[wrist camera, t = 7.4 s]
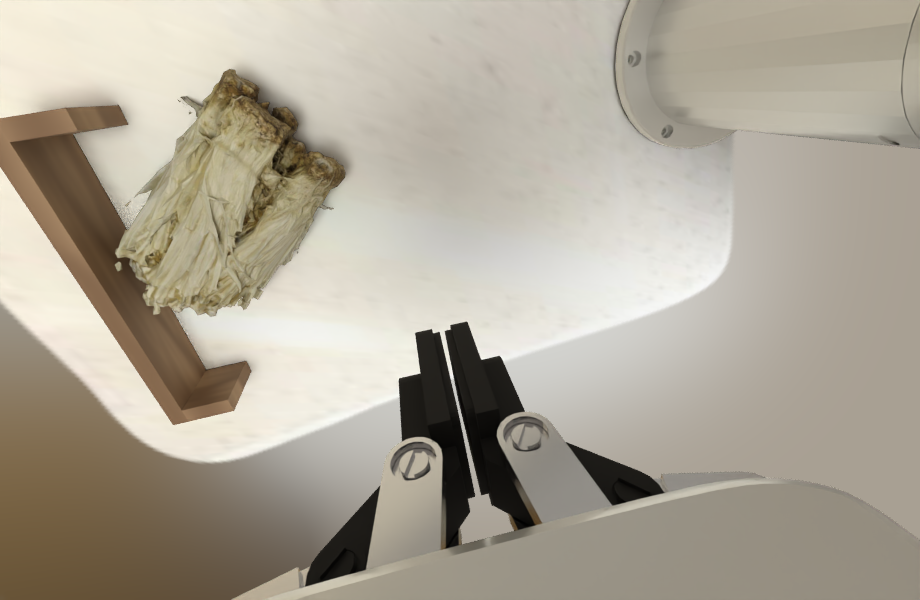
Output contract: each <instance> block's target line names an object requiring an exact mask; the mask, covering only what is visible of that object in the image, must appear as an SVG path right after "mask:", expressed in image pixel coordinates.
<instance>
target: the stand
mask: <svg viewBox="0 0 920 600" xmlns="http://www.w3.org/2000/svg"><path fill="white" fill-rule="evenodd" d="M123 125H128V123H127V121H126V119H125V117H124V115H123V113H122V111H121V109H120V107H119V105H117V106H97V107H77V108H62V109H56V110H50V111H44V112H37V113H31V114H25V115H19V116H12V117H6V118H0V167H1V169H2V170H3V172H4V173H5V175H6V176H7V178H8V179H9V181H10V182H11V184H12V185H13V187H14V188H15V190H16V191H17V193H18V194H19V196H20V197H21V199H22V200H23V202H24V203H25V204H26V206H27V207H28V209H29V210H30V212H31V213H32V215H33V216H34V218H35V219H36V221H37V222H38V224H39V225H40V227H41V228H42V230H43V231H44V233H45V234H46V236H47V237H48V239H49V240H50V242H51V243H52V245H53V246H54V248H55V249H56V251H57V252H58V254H59V255H60V257H61V258H62V260H63V261H64V263H65V264H66V266H67V267H68V269H69V270H70V272H71V273H72V275H73V276H74V278H75V279H76V281H77V282H78V284H79V285H80V287H81V288H82V290H83V291H84V293H85V294H86V296H87V297H88V299H89V300H90V302H91V303H92V304H93V306H94V307H95V309H96V310H97V312H98V313H99V315H100V316H101V318H102V319H103V321H104V322H105V324H106V325H107V327H108V328H109V330H110V331H111V333H112V334H113V336H114V337H115V339H116V340H117V342H118V343H119V345H120V346H121V348H122V349H123V351H124V352H125V354H126V355H127V357H128V358H129V360H130V361H131V363H132V364H133V366H134V367H135V369H136V370H137V372H138V373H139V375H140V376H141V378H142V379H143V381H144V382H145V384H146V385H147V387H148V388H149V390H150V391H151V393H152V394H153V396H154V397H155V399H156V400H157V402H158V403H159V405H160V406H161V407H162V409H163V410H164V412H165V413H166V415H167V416H168V418H169V419H170V421H171V422H172V424H173V425H176V424H180V423H184V422H189V421H193V420H197V419H201V418H206V417H210V416H214V415H218V414H222V413H227V412H231V411H234V410H235V407H236V405H237V403H238V400H239V398H240V396H241V394H242V391H243V389H244V387H245V384H246V382H247V380H248V378H249V375H250V373H251V370H250V368H249V366H248V364H247V362H246V361H245V362H240V363H236V364H231V365H227V366H222V367H218V368H214V369H209V370H206V369H205V367H204V366H203V364H202V362H201V360H200V359H199V357H198V355H197V353H196V352H195V350H194V348H193V346H192V344H191V343H190V341H189V339H188V337H187V336H186V334H185V332H184V330H183V329H182V327H181V325H180V323H179V322H178V320H177V318H176V316H175V314H174V313H173V311H172V309H171V307H170V306H165V307H160V310H161V312H160V313H159V314H155V315H153V308H154V306H147V305H146V302H145V300H144V299H143V298H142V297H143V293H144V291H147V290H148V289H147V290H145V289H146V285H148V284H146V283H144V282H142V280H141V281H140V280H139V279H137V278H136V274H135V273H134V272H133V270H132V267H131V266H130V265H129V263H130V258H127V257H122V258H117V256H116V254H115V251H116V249H118V248H119V245H120V242H121V239H122V237H123V235H124V233H125V230H126V228H125V226H124V224H123V223H122V221H121V219H120V217H119V215H118V214H117V212H116V210H115V208H114V207H113V205H112V203H111V201H110V200H109V198H108V196H107V194H106V192H105V191H104V189H103V187H102V185H101V184H100V182H99V180H98V178H97V177H96V175H95V173H94V171H93V170H92V168H91V166H90V164H89V162H88V161H87V159H86V157H85V155H84V154H83V152H82V150H81V148H80V147H79V145H78V143H77V141H76V139H75V138H74V136H73V134H74V133H80V132H86V131H93V130H99V129H105V128H111V127H117V126H123ZM118 262H120V263H121V265H122V270H120V271H117V269H116V267H115V264H116V263H118Z"/></svg>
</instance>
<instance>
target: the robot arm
mask: <svg viewBox="0 0 920 600" xmlns="http://www.w3.org/2000/svg"><path fill="white" fill-rule="evenodd" d="M629 57H630V61H629V63H628V58H629ZM615 70H616V81H617V89H618V93H619V96H620V100H621V104H622V106H623V108H624V110H625V112H626V114H627V116H628V118H629V120H630V121H631V122H632V124H633V125H634V126H635V127H636V129H637V130H638V131H639V132H640V133H641V134H643V135H644V136H645V137H647V138H648V139H649V140H651V141H654V142H656V143H658V144H661V145H663V146H669V147H674V148H690V149H692V148H697V147H702V146H707V145H710V144H712V143H715V142H717V141H720V140H722V139H724V138H725V137H727V136H729V135H730V134H732V133H734V132H735V131H737V130H741V131H751V132H761V133H771V134H780V135H790V136H800V137H809V138H819V139H829V140H840V141H848V142H858V143H868V144H878V145H888V146H897V147H908V148H918V149H920V0H630V2H629V5H628V8H627V10H626V13H625V16H624V18H623V21H622V24H621V29H620V33H619V38H618V42H617V50H616V64H615ZM450 326H451V330H447V331H445V335H446V340H447V345H448V350H449V355H450V360H451V365H452V370H453V376H454V381H455V386H456V390H457V396H458V401H459V405H460V409H461V413H462V417H463V422H464V425H465V430H466V434H467V438H468V442H469V446H470V450H471V455H472V459H473V463H474V467H475V471H476V475H477V479H478V483H479V487H480V492H481V495H484V494H488V493H489V497H490V500H491V504H492V506H493V505H494V506H495V507H497V508H499V509H501V510H502V511H504V512H506V513H508V516H509V520H510V523H511V525H512V527H513V529H514V531H513V532H509V533H505V534H501V535H497V536H493V537H489V538H485V539H482V540H478V541H474V542H470V543H466V544H463V545H462V535H461V529H460V526H461V524H462V523H463V522H464V520H465V519H466V517H467V516H468V514H469V513H470V508H469V503H468V498H472V497H475V493H474V488H473V483H472V478H471V473H470V468H469V463H468V458H467V453H466V448H465V443H464V438H463V433H462V429H461V423H460V418H459V414H458V410H457V405H456V401H455V397H454V393H453V388H452V384H451V379H450V375H449V371H448V366H447V362H446V358H445V353H444V349H443V345H442V341H441V336H440V332H438V333H433V332H432V329H430V330H426V331H421V332H417V333H415V335H416V342H417V350H418V357H419V365H420V372H421V374H417V375H412V376H408V377H403V378H399V394H400V412H401V428H402V442H400V443H398V444H397V445H396V446H395V447H394V448H392V449H391V451H390V452H389V454H388V455H387V457H386V460H385V463H384V468H383V474H382V479H381V485H380V486H379V487H378V489H377V490H376V491H375V492H374V493H373V494H372V495H371V496H370V497H369V499H368V500H367V501H366V502H365V503H364V504H363V505H362V506H361V507H360V508H359V510H358V511H357V512H356V513H355V514H354V515H353V516H352V517H351V519H350V520H349V521H348V522H347V523H346V524H345V525H344V526H343V527H342V528H341V530H340V531H339V532H338V533H337V534H336V535H335V536H334V537H333V538H332V539H331V541H330V542H329V543H328V544H327V545H326V546H325V547H324V548H323V550H322V551H321V552H320V553H319V554H318V556H317V557H316V558H315V560H314V561H313V562H312V564H311V566H310V567H308V568H306V569H304V570H302V571H300V570H299V568H298V567H297V568H295V569H293V570H291V571H289V572H287V573H285V574H283V575H281V576H279V577H277V578H275V579H273V580H271V581H269V582H267V583H265V584H263V585H261V586H258V587H256V588H254V589H252V590H250V591H248V592H246V593H244V594H242V595H240V596H238V597H236V598H234V599H232V600H920V540H919V539H918V538H916V537H915V536H914V535H913V534H911V533H910V532H909V531H907V530H906V529H905V528H903V527H902V526H900V525H899V524H898V523H896V522H895V521H894V520H892V519H891V518H890V517H888V516H886V515H885V514H884V513H882V512H881V511H879V510H878V509H876V508H875V507H873V506H871V505H870V504H868V503H866V502H865V501H863V500H861V499H859V498H857V497H855V496H853V495H851V494H849V493H847V492H844V491H841V490H838V489H836V488H833V487H829V486H825V485H821V484H817V483H812V482H807V481H800V480H790V479H781V478H765V477H762V476H760V475H757V474H755V473H749V472H714V473H713V472H712V473H679V474H662V475H661V479H652V478H651V477H650V476H648V475H646V474H644V473H642V472H640V471H638V470H635V469H632V468H630V467H628V466H625V465H623V464H620V463H617V462H615V461H612V460H610V459H607V458H605V457H602V456H599V455H597V454H595V453H592V452H590V451H587V450H584V449H582V448H579V447H577V446H574V445H572V444H569V443H567V442H565V441H564V440H563V438H562V437H561V435H560V434H559V433H558V431H557V430H556V429H555V427H554V426H553V425H552V423H551V422H550V421H549V420H548V419H547V418H545V417H543V416H542V415H540V414H537V413H532V412H525V411H524V408H523V406H522V404H521V402H520V399H519V397H518V395H517V392H516V390H515V388H514V386H513V383H512V381H511V379H510V376H509V374H508V372H507V370H506V367H505V365H504V363H503V360H502V358H501V357H500V356H497V357H493V358H488V359H484V360H481V358H480V356H479V353H478V350H477V347H476V345H475V342H474V339H473V336H472V334H471V331H470V328H469V325H468V323H467V322H463V323H458V324H454V325H450Z"/></svg>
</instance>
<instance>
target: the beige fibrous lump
mask: <svg viewBox="0 0 920 600" xmlns="http://www.w3.org/2000/svg"><path fill="white" fill-rule="evenodd" d="M258 92H259V88H258V87H257V85H255V84H254V83H252V82H250V81H248V80H245V79H243V78H240V77H239V76H238V75H237V74H236V71H235V70H232V69H229V70H227V71H225V72H224V73H223V75H222V77H221V80H220V82H219V83H218V84H216V85H215V86H214V88H213V91H212V93H211V94H210V95H209V96H208V97H207V98H206V99H204V100H203V107H201V106H199V105H197V104H196V103H194V102H192V101H191V100H189V98H188V97H187V96H185V97H181V98H182V99H183V100H184V101H185V102H186V103H187V104H189V105H190V106H191V107H193V108H194V109H195V111H196V116H197V117H198V118H197V120H196V121H195V123H194V124H193V125H192V126H191V127H190V128H189V129H188V130H187V131H186V132H185V133H184V134H183V135H182V136H181V137H179V138H178V139H177V142H176V149H175V153H174V157H173V159H172V161H171V162H169V163H168V164H167V165H165V166H164V167H163V168H162V169H160V170H159V171H158V172H157V173H156V174H155V175H154V177H153V178H152V179H151V180H150V181H149V182H148V183H147V184H146V185H145V186H144V187H143V188H142V189H141V190H140V191H139V192H138V193H137V194H136V196H137V195H138V194H141V193H146V192H148V191H150V190H152V191H151V193H150V195H149V198H148V200H147V202H146V204H145V205H144V207H143V208H142V209H141V211H140V212H139V214H138V215H137V217H136V219H135V221H134V222H133V224H132V226H131V227H130V229H128V230H125V233H124V235H123V237H122V239H121V242H120V245H119V248H118V249H116V251H115V254H116V256H117V258H122V257H127V258H130V263H129V265H130V266H131V267H132V270H133V272H134V273H135V274H136V278H137V279H139V280H140V281H141V280H142V282H144V283H146V284H148V285H146V289H145V290H147V289H148V290H147V291H144V293H143V297H142V298H143V299H144V300H145V302H146V305H147V306H154V308H153V315H155V314H159V313H160V312H161V310H160V307H165V306H170V307H171V308H172V309H173V310H174V311H176V312H178V313H179V312H181V311H182V310H183V309H184V308H188V307H190V308H192V309H194V310H195V312H196V313H197V315H201V314H204V313H207V314H208V315H209V316H210V317H211V316H216V313H217V310H218V309H220V308H222V307H226V306H228V307H230V308H231V307H232V306H235V304H236V303H237V301H238V300H239V299H240V300H239V301H238V306H242V307H243V310H244V309H246V308H247V307H248V305H249V303H250V300H251V299H252V298H253V297H254V298H256V299H259V297H260V295H261V294H262V293H263V291H262V290H260V288H264V287H265V286H266V285H267V283H268V282H269V280H270V279H271V277H272V276H273V274H274V273H275V271H276V270H277V268H278V266H279V265H282V264H283V265H285V264H286V263H288V262H289V261H291V259H292V256H293V252H294V250H295V249H299V245H300V242H301V241H302V239H303V238H304V236H305V235H306V233H307V231H308V229H309V227H310V225H311V224H312V222H313V215H314V213H315V211H316V210H317V208H318V207H320V208H322V209H324V210H325V209H330V210H332V209H334V208H330V207H326V206H325V205H323V204H322V203H323V201H324V200H325V198H326V196H327V194H328V193H329V191H330V190H331V189H332V188H335V187H337V186H338V185H339V184H340V183H341V181H342V180H343V179H344V178H345V170H344V167H343V166H342V165H340V164H339V163H338V162H337V161H336V160H335V159H334V158H330V157H325V156H323V155H322V154H321V153H319V152H313V151H310V152H309V153H307V154H306V149H305V146H304V143H302V142H299V141H296V140H295V139H294V138H293V136H292V135H293V134H294V133H295V132H296V129H297V126H298V123H297V121H296V119H295V118H294V116H293V114H292V113H291V112H290V111H289V109H288V108H287V107H283V108H273V112H272V116H271V115H270V113H269V112H268V110H267V109H268V106H269V103H270V102H266V103H258V104H257V103H256V102H257V100H258ZM178 101H179V100H178ZM179 102H180V101H179ZM189 114H191V112H189ZM130 202H131V201H130ZM130 202H129V203H130ZM129 203H127V204H126V205H125V206H126V207H127V206H128V204H129ZM297 253H298V251H297ZM115 267H116V269H117V271H120V270H122V265H121V263H120V262H118V263H116V264H115ZM242 297H243V298H242Z"/></svg>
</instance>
